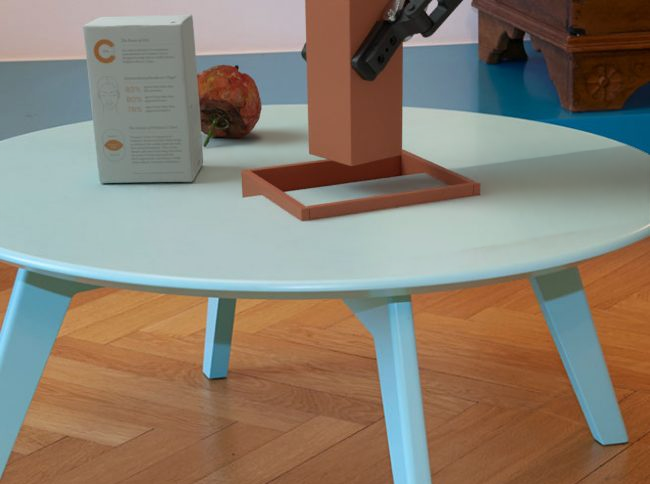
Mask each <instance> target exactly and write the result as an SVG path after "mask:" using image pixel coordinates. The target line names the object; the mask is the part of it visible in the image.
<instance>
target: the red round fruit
mask: <svg viewBox="0 0 650 484" xmlns="http://www.w3.org/2000/svg"><path fill="white" fill-rule="evenodd" d="M239 69H240V66H239V65H238V64H235V65H234V66H233V65H229V64H219V65H215V66H211V67H210V68H208V69H205V70H203V71H200V72H197V81H198V94H199V106H200V120H201V133H202V134H204V135H207V136H206V138H205V141H204V143H203V144H202V147H203V148H207V146H208V144H209V142H210V139H211V138H212V137H215V138H217V137H219V138H221V137H230V138H237V139H238V138H243V137H245V136H247V135H249V134H250V133H251V132H252V131H253V130H254V128H255V127H256V125H257V123H258V122H259V121H260V117H261V113H262V109H263V108H262V107H263V105H262V101H261V97H260V92H259V88H258V86H257V84H256V82H255V79H254V78H253V77H252V76H250V75H249V74H248V73H246V72H240V71H239Z"/></svg>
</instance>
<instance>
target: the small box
mask: <svg viewBox="0 0 650 484" xmlns="http://www.w3.org/2000/svg"><path fill="white" fill-rule="evenodd" d="M82 32H83V38H84V39H83V40H84V48H85V57H86V58H85V59H86V68H87V77H88V87H89V95H90V104H91V105H90V106H91V115H92V124H93V126H92V127H93V136H94V144H95V154H96V163H97V173H98V181H99V183H100V184H119V183H120V184H123V183H127V184H128V183H167V182H168V183H174V182H175V183H180V182H183V183H192V182H194V180H195V178H196V177H197V175H198V173H199V172H200V170H201V168H202V166H203V165H204V153H203V139H202V138H203V137H202V132H201V120H200V106H199V94H198V81H197V74H198V68H197V67H198V66H197V53H196V42H195V29H194V19H193V14H166V15H165V14H163V15H162V14H161V15H121V16H119V15H118V16H116V15H115V16H99V17H98V18H96V19H93V20H92V21H90V22H87V23H86V24H84V25H82Z"/></svg>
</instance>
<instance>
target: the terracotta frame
mask: <svg viewBox="0 0 650 484" xmlns="http://www.w3.org/2000/svg"><path fill="white" fill-rule="evenodd" d="M240 174H241V175H240V177H241V194H242V195H241V196H242V197H241V198H242V199H243V198H250V197H251V198H252V197H260V196H263V197H265V198H266V199H268V200H269V201H270V202H272V203H273V204H275V205H276V206H278V207H279V208H281V209H283V210H284V211H286V212H287V213H289V214H290V215H291V216H293V217H294V218H296V219H297V220H298V221H301V222H307V221H313V220H320V219H326V218H334V217H340V216H346V215H353V214H361V213H366V212H367V213H368V212H374V211H380V210H388V209H394V208H401V207H407V206H413V205H420V204H427V203H428V204H429V203H436V202H442V201H448V200H455V199H461V198H468V197H475V196H481V183H480V182H478V181H475V180H473V179H471V178H469V177H467V176H464V175H462V174H461V173H457V172H455V171H453V170H451V169H449V168H446V167H444V166H442V165H439V164H437V163H435V162H433V161H430V160H428V159H426V158H424V157H422V156H419V155H417V154H414V153H412V152H410V151H408V150H406V149H402V155H398V156H394V157H390V158H385V159H381V160H376V161H372V162H368V163H363V164H359V165H354V166H349V165H346V164H342V163H339V162H335V161H332V160H328V159H325V158H324V159H319V160H312V161H311V160H310V161H303V162H296V163H295V162H294V163H288V164H287V163H286V164H278V165H271V166H264V167H255V168H249V169H248V168H247V169H241V170H240ZM419 174H420V175H421V174H425V175H428V176H429V177H432V178H433V179H436V180H438V181H440V182H443V183H445V184H447V185H444V186H437V187H430V188H424V189H416V190H408V191H403V192H402V191H401V192H396V193H389V194H381V195H374V196H367V197H360V198H353V199H346V200H339V201H332V202H326V203H325V202H324V203H319V204H311V205H305V204H304V203H301V202H300V201H298V200H297V199H295V198H294V197H292V196H290V195H289V194H288V193H287V192H294V191H303V190H309V189H316V188H324V187H332V186H339V185H346V184H353V183H361V182H368V181H376V180H383V179H391V178H397V177H398V178H399V177H404V176H412V175H419Z"/></svg>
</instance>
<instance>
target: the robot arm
mask: <svg viewBox="0 0 650 484" xmlns="http://www.w3.org/2000/svg"><path fill="white" fill-rule="evenodd" d="M432 1H433V0H389V2H388V3H387V5H386V6H385V8H384V11H383V14H382V18H383V20H384V22H381V21H377V22H376V23H375V25H374V26H373V28H372V29H371V31H370V32H369V34H368V35H367V37H366V38H365V40H364V41H363V43H362V44H361V46H360V47H359V49H358V50H357V52H356V53H355V55H354V56H353V58H352V59H351V66H352V68H353V69H354V70H355V71H356V72H357V74H358V75H359V76H360V77H361V78H362V79H363V80H366V81H374V80H375V79H376V77H377V76H378V74H379V73H380V72H381V71H382V70H384V68H385V67H386V65H387V64H388V62H389V61H390V59H391V57H392V56H393V54H394V53H395V51H396V50H397V48H398V47H399V45H400V44H401V42H403V43H406V42H409V41H410V40H411V39H412V38H414V35H419V34H420V35H421V36H422V38H429V37H432V36H433V35H434V34H435V33H436V32H437V31H438V29H439V28H440V27H441V26H442V25H443V24H444V23H445V21H446V20H447V19H448V18H449V17H450V16H451V15H452V14H453V13H454V11H455V10H456V9H457V8H458V7H459V6H460V5H461V4H462V2H463V1H464V0H436V1H437V5H436V7H434V9H433V10H432V11H431V12H430V13H429V14H428V13H427V11H428V9H429V4H431V3H432ZM402 7H403V9H402ZM300 55H301V58H302V59H303V61H305V62H306V63H307V56H306V42H305V43H304V44H303V47H302V49H301V52H300Z"/></svg>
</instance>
